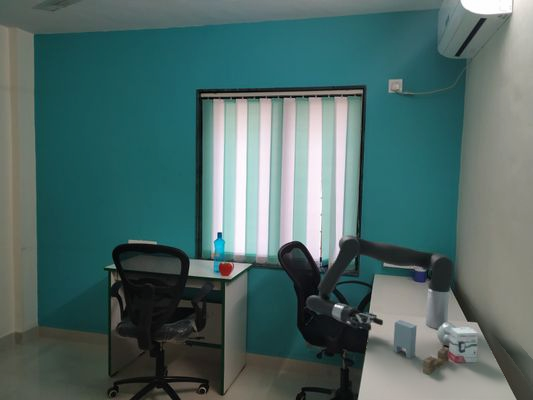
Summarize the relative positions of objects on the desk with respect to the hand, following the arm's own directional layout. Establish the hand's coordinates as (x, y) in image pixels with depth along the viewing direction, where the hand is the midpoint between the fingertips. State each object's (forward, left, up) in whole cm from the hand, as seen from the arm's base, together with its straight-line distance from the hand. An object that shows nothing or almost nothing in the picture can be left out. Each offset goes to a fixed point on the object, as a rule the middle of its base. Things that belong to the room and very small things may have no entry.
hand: (376, 325), depth 170 cm
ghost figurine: (-21, +21, -8) cm, 31 cm away
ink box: (-13, +30, -8) cm, 33 cm away
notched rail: (0, +26, -7) cm, 27 cm away
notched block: (0, +13, -7) cm, 15 cm away
